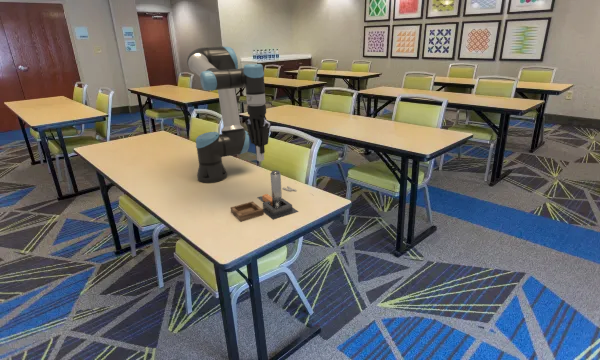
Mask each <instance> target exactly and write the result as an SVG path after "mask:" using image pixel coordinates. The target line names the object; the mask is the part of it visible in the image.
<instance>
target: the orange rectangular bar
mask: <svg viewBox="0 0 600 360" xmlns="http://www.w3.org/2000/svg"><path fill="white" fill-rule="evenodd" d="M261 196H262V198H263V201H265V202H267V201H269V202H270V205H271V206H273V205H272V195H269V194H268V193H265V194H262V195H261Z"/></svg>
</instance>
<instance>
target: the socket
mask: <svg viewBox="0 0 600 360" xmlns="http://www.w3.org/2000/svg"><path fill="white" fill-rule="evenodd" d="M256 199H258V200H260V202H262V209H263V212H264V215H266V216H267V217H269V218H270V219H271V220H272V221H274V220H277V219H280V218H283V217H286V216H290V215H292V214H297V213H299V211H298V210H297V209H296V208H294V207H293V204H291V202H288V201H287V200H286V199H284V198H283V197H282V206H281V207H277V208H273V206H271V205H270V202H269V201H267V202H265V201H263V198H262V195H261V196H257V197H256Z"/></svg>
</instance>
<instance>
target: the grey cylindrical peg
mask: <svg viewBox="0 0 600 360" xmlns="http://www.w3.org/2000/svg"><path fill="white" fill-rule="evenodd" d="M269 174H270V186H271V197H272V205H273V208H277V207H281V206H282V198H283V196H282V177H281V175H282V174H281V172H280V170H272V171H271V172H270V173H269Z"/></svg>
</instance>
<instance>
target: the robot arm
mask: <svg viewBox="0 0 600 360" xmlns="http://www.w3.org/2000/svg"><path fill="white" fill-rule="evenodd" d="M238 64H239V61H238V57H237V53H236V52H235V50H234V48H232V47H230V46H211V47H199V48H198V47H197V48H196V49H194V50H192V51H191V52H190V53H189V55H187V59H186V65H187V67H188V69H189V71H190V72H191V73H193V74H196V75H197V76H198V77H199V78H200V79H199V81H200V86H201V88H202V89H203V91H206V92H207V91H211V92H213V91H217V94H218V99H219V107H220V112H221V118H222V119H221V120H222V123H223V124H222V125H223V127H222V129H221V134H219V132H218V131H208V132H204V133H202V134H200V135H197V137H196V138H195V148H196V152H197V153H196V154H197V159H198V160H197V161H198V168H197V173H196V174H197V175H196V176H197V178H196V179H197V181H198V182H199V183H204V184H209V183H210V184H211V183H218V182H221V181H224V180H225V179H227V177H228V171H227V170H226V168H225V166H224V164H223V159H222V158H224V157H229V156H236V155H241V154H247V152H248V150H249V148H250V144H254V147H255V153H256V159H257V162H263V161H265V151H266V150H265V146H266V145H268V144H269V138H270V131H271V130H270V129H271V126H272V122H270V121H267V117H266V115H267V105H266V92H265V91H266V89H265V71H264V66H263V64H261V63H250V64H249V63H248V64H245V65H244V66H243V67H240V68H239V65H238ZM240 88H241V89H243V88H245V94H246V98H245V99H246V104H247V106H246V107H247V109H246V110H247V115H248V119H247V120H245V121H244V123H245V125H246V128H247V130H245V128H244V127H243V126H242V125H241V121H240V114H239V109H238V101H237V94H236V89H240Z"/></svg>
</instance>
